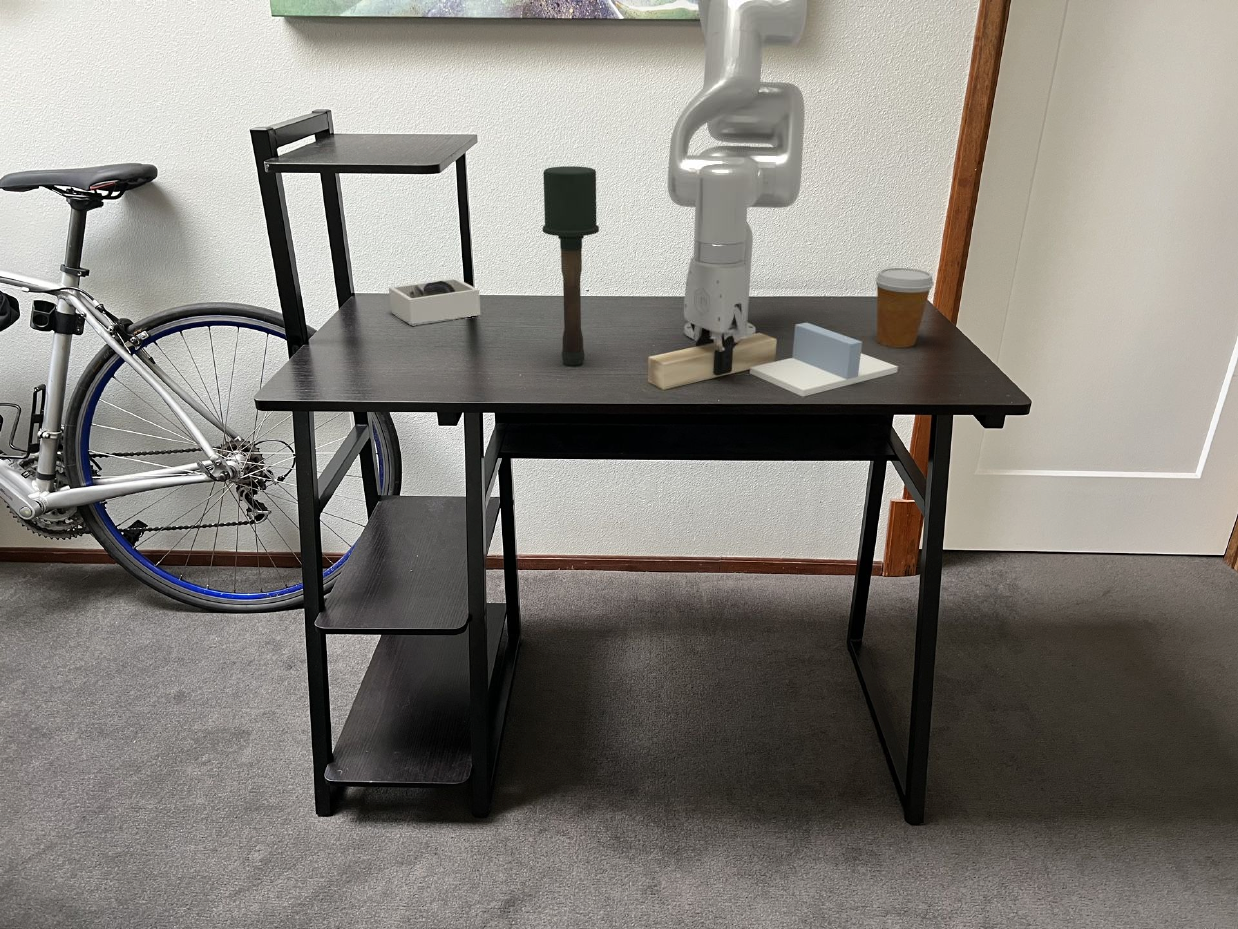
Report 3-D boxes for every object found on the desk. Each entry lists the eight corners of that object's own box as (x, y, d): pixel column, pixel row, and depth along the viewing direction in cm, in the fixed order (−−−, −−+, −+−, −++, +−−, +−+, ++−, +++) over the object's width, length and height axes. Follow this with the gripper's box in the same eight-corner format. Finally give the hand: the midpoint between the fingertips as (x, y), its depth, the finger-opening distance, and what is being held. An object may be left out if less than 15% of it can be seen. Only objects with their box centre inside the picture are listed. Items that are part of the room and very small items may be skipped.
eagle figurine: (410, 315, 166) (458, 305, 167) (403, 278, 167) (451, 268, 167) (419, 327, 174) (465, 317, 174) (411, 291, 175) (457, 282, 175)
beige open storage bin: (391, 313, 173) (388, 287, 170) (457, 303, 179) (456, 278, 177) (411, 327, 164) (409, 299, 162) (480, 316, 171) (479, 289, 169)
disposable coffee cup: (856, 338, 160) (864, 270, 155) (899, 331, 163) (908, 265, 158) (892, 353, 152) (901, 282, 147) (936, 346, 155) (947, 277, 150)
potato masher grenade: (607, 357, 149) (606, 167, 136) (588, 374, 142) (586, 174, 129) (559, 352, 152) (554, 164, 139) (538, 368, 144) (531, 171, 132)
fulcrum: (749, 373, 143) (752, 333, 140) (841, 352, 152) (846, 314, 150) (802, 396, 134) (806, 354, 131) (896, 372, 143) (902, 332, 141)
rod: (648, 381, 139) (648, 356, 137) (758, 356, 150) (760, 332, 148) (663, 389, 136) (663, 364, 134) (774, 363, 147) (776, 339, 145)
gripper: (665, 244, 139) (662, 358, 147) (735, 267, 126) (727, 390, 134) (704, 238, 143) (699, 350, 151) (776, 260, 130) (766, 380, 138)
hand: (713, 367), depth 142 cm, fingers closed on rod, 4 cm apart
